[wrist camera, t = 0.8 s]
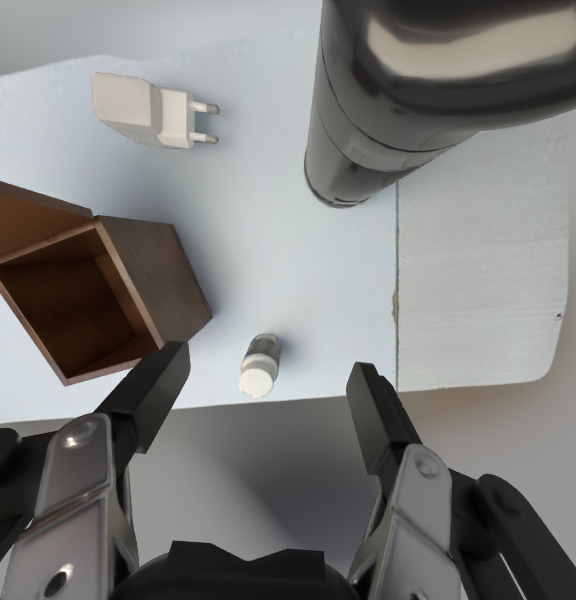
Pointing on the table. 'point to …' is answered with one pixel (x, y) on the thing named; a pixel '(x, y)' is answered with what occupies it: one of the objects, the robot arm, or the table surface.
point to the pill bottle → (260, 366)
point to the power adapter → (148, 111)
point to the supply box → (103, 295)
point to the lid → (34, 216)
